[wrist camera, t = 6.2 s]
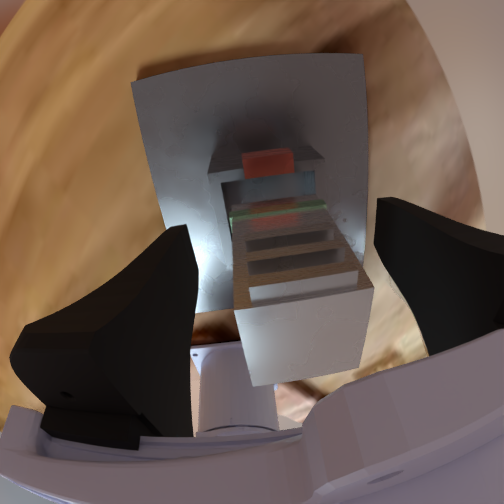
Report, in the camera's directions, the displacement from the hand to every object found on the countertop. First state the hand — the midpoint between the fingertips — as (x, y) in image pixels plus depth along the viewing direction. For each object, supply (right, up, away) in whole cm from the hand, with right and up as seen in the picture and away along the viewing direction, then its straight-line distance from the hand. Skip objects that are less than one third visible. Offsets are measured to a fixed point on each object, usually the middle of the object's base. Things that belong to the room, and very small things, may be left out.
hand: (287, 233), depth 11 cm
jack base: (0, +3, +9) cm, 10 cm away
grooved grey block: (0, 0, +4) cm, 4 cm away
